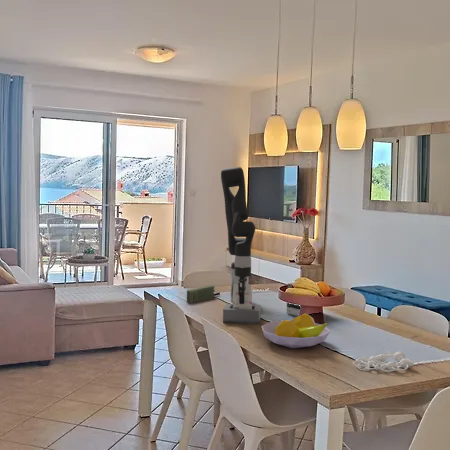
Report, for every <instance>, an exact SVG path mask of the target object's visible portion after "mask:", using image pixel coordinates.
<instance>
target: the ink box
mask: <svg viewBox="0 0 450 450" xmlns="http://www.w3.org/2000/svg"><path fill="white" fill-rule="evenodd" d="M244 287H245V286H244ZM240 292H243V291H242V290H241V291H240ZM232 304H233V309H252V305H253V289H252V284H249V283H248V284H246V290H245V295H244V304H240V303H239V295H238V284H234V285H233V301H232Z"/></svg>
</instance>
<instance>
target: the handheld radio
mask: <svg viewBox="0 0 450 450" xmlns="http://www.w3.org/2000/svg"><path fill="white" fill-rule="evenodd" d="M219 295H221V293H220V292H215V285H214V284H212V285H207V286H202V287H197V288H192V289H188V290H186V303H187V302H188V303H187V304H192V303H196V302H200V301H204V300H208V299H212V298H213V299H214V297H215V296H219Z"/></svg>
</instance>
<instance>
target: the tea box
mask: <svg viewBox="0 0 450 450" xmlns="http://www.w3.org/2000/svg"><path fill="white" fill-rule="evenodd" d="M314 282H315V283H318V282H316V281H314ZM293 283H294V282H291V283H287V289H288V288H291V287H292V286H293V285H292V284H293ZM299 310H300V306H299V305H294V304H289V303H287V302H286V310H285V311H286V312H285V313H286V314H288V315H291V316H295V317H298V314H299Z"/></svg>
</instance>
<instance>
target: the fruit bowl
mask: <svg viewBox="0 0 450 450" xmlns="http://www.w3.org/2000/svg"><path fill="white" fill-rule="evenodd" d="M327 326H328V323H327V322H325V323H323V324H320V323H316V322H315V319H314V317H312V315H308V314H306V313H304V314H302V315H300V316H295V317H294V318H293V319H292V320H291V319H283V320H279V321H278V320H276V321H269V322H267V323H265V324H264V325H261V329H262V333H263V336H264V338H266V339H268V340H269V341H271V342H272V343H274V344H277V345H280V346H284V347H287V348H290V349H298V348H300V349H301V348H307V347H308V348H309V347H314V346H316V345H319V344H321V343H323V342H325V341H326V340H327V337H328V336H329V334H330V333H331V330H330V329H329V328H328V327H327Z"/></svg>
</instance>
